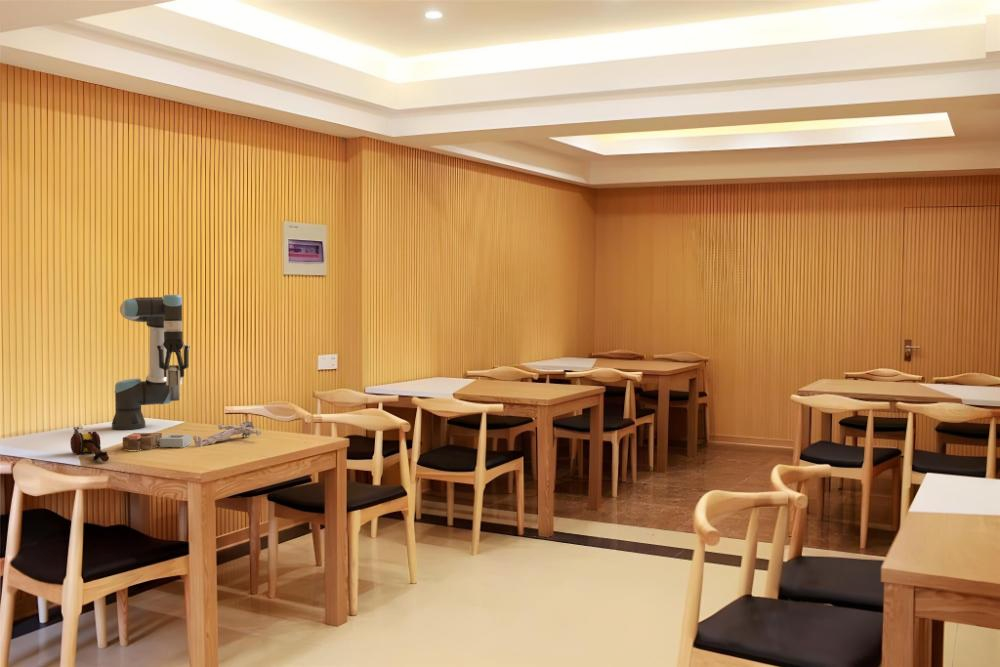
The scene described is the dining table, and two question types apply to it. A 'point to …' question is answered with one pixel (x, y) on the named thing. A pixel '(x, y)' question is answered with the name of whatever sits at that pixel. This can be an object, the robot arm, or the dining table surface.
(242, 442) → the dining table surface
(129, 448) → the socket block
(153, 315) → the robot arm
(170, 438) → the grey square frame
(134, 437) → the key
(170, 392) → the peg
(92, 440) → the gavel
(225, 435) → the toy
